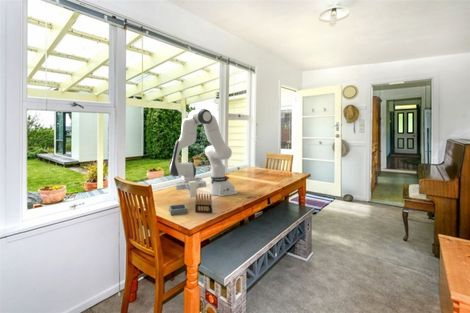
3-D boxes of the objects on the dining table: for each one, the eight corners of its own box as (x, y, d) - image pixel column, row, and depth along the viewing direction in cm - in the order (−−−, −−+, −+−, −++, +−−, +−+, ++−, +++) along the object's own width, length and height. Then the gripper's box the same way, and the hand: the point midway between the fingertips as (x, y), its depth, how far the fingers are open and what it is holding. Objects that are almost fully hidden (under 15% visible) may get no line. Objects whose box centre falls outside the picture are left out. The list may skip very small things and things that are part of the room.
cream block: (195, 195, 167) (195, 180, 166) (196, 196, 164) (196, 182, 162) (189, 196, 166) (188, 181, 165) (190, 197, 162) (190, 182, 161)
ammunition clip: (195, 212, 158) (194, 193, 156) (196, 211, 160) (195, 192, 158) (211, 213, 156) (211, 194, 155) (212, 212, 158) (212, 193, 157)
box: (184, 208, 165) (184, 204, 165) (187, 213, 156) (187, 208, 155) (169, 210, 162) (169, 205, 161) (170, 215, 152) (170, 210, 152)
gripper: (173, 180, 172) (176, 184, 159) (203, 177, 179) (207, 181, 166) (174, 189, 173) (177, 194, 160) (203, 186, 180) (208, 190, 167)
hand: (193, 187), depth 163 cm, fingers closed on cream block, 4 cm apart
